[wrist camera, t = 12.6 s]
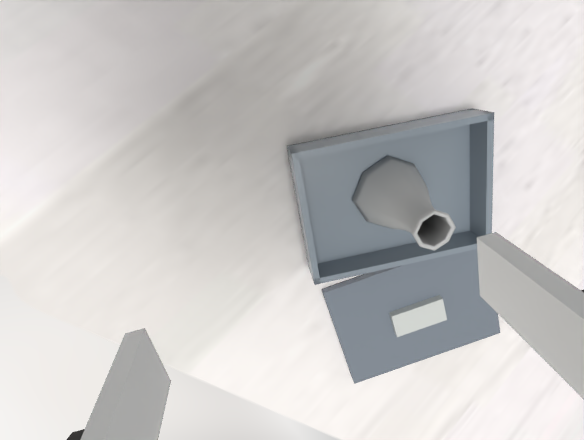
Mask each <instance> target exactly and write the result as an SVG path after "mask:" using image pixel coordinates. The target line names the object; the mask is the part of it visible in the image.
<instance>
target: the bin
mask: <svg viewBox="0 0 584 440" xmlns="http://www.w3.org/2000/svg"><path fill="white" fill-rule="evenodd" d="M493 141H494V112H488V111H482V110H477V109H468V110H463V111H458V112H453V113H448V114H444V115H439V116H434V117H429V118H424V119H419V120H414V121H409V122H404V123H399V124H394V125H389V126H384V127H379V128H374V129H369V130H364V131H359V132H354V133H349V134H344V135H340V136H335V137H330V138H325V139H320V140H315V141H310V142H305V143H300V144H295V145H290V146H287V150H288V155H289V161H290V166H291V172H292V177H293V183H294V188H295V194H296V199H297V205H298V210H299V216H300V221H301V227H302V232H303V238H304V243H305V249H306V254H307V260H308V265H309V269H310V272H311V275H312V278H313V281H314V284H315V285H316V284H320V283H325V282H329V281H334V280H338V279H343V278H347V277H352V276H356V275H361V274H366V273H370V272H375V271H379V270H384V269H388V268H393V267H397V266H402V265H406V264H411V263H415V262H420V261H425V260H429V259H434V258H438V257H443V256H447V255H452V254H456V253H461V252H465V251H470V250H474V249H477V237H480V236H484V235H487V234H491V233H492V191H493ZM388 155H389V156H392V157H395V158H398V159H401V160H404V161H407V162H410V163H413V164H414V165H415V166H416V168H417V170H418V172H419V173H420V175H421V177H422V179H423V181H424V182H425V184H426V186H427V188H428V192H429V197H430V201H431V204H432V206H433V208H434V209H435V210H437V211H441V212H444V213H447V214H449V216H450V218H451V219H452V221H453V223H454V225H455V226H456V228H455V230H454V232H453V234H452V236H451V238H450V240H449V242H447V243H446V244H444V245H443V246H441V247H440V248H438V249H436V250H435V251H434V250H430V249H427V248H423V247H420V246H419V245H418V243H417V241H416V240H415V238H414V236H413V235H412V233H410V232H408V231H406V230H399V229H391V228H388V227H384V226H381V225H377V224H374V223H370V222H367V221H366V220H365V219H364V217H363V216H362V214H361V213H360V211H359V210H358V208H357V207H356V205H355V204H354V202H353V201H352V199H353V196H354V194H355V191H356V189H357V186H358V184H359V181H360V179H361V176H362V174H363V172H365V171H366V170H367V169H369V168H370V167H372V166H373V165H375V164H376V163H378V162H379V161H380V160H382V159H383V158H385V157H386V156H388Z"/></svg>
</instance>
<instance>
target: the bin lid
mask: <svg viewBox="0 0 584 440" xmlns="http://www.w3.org/2000/svg"><path fill="white" fill-rule="evenodd" d="M322 292H323V295H324V298H325V300H326V303H327V306H328V309H329V312H330V315H331V318H332V321H333V323H334V326H335V329H336V332H337V335H338V338H339V341H340V344H341V347H342V349H343V352H344V355H345V358H346V361H347V364H348V367H349V370H350V373H351V375H352V378H353V381H354V384H355V383H358V382H361V381H363V380H366V379H369V378H372V377H375V376H378V375H381V374H384V373H386V372H389V371H392V370H395V369H398V368H401V367H404V366H406V365H409V364H412V363H415V362H418V361H421V360H424V359H427V358H429V357H432V356H435V355H438V354H441V353H444V352H447V351H449V350H452V349H455V348H458V347H461V346H464V345H467V344H470V343H472V342H475V341H478V340H481V339H484V338H487V337H490V336H492V335H495V334H498V333H500V327H499V320H498V313H497V312H496V311H495V310H494V309H493V308H492V307H491V306H490V305H489V304H488V303H487V302H486V301H485V300H484V299H483V298H482V297H481V296H480V289H479V271H478V252H477V249H474V250H470V251H465V252H461V253H456V254H452V255H447V256H443V257H438V258H434V259H429V260H425V261H420V262H415V263H411V264H406V265H402V266H397V267H393V268H388V269H384V270H379V271H375V272H370V273H367V274H364V275H361V276H359V277H356V278H353V279H350V280H347V281H344V282H341V283H339V284H336V285H333V286H330V287H327V288H324V289H322Z"/></svg>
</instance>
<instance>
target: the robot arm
mask: <svg viewBox="0 0 584 440" xmlns="http://www.w3.org/2000/svg"><path fill="white" fill-rule="evenodd" d="M477 252H478V271H479V289H480V296H481V297H482V298H483V299H484V300H485V301H486V302H487V303H488V304H489V305H490V306H491V307H492V308H493V309H494V310H495V311H496V312H497V313H498V314H499V315H500V316H501V317H502V318H503V319H504V320H505V321H506V322H507V323H508V324H509V325H510V326H511V327H512V328H513V329H514V330H515V331H516V332H517V333H518V334H519V335H520V336H521V337H522V338H523V339H524V340H525V341H526V342H527V343H528V344H529V345H530V346H531V347H532V348H533V349H534V350H535V351H536V352H537V353H538V354H539V355H540V356H541V357H542V358H543V359H544V360H545V361H546V362H547V363H548V364H549V365H550V366H551V367H552V368H553V369H554V370H555V371H556V372H557V373H558V374H559V375H560V376H561V377H562V378H563V379H564V380H565V381H566V382H567V383H568V384H569V385H570V386H571V387H572V388H573V389H574V390H575V391H576V392H577V393H578V394H579V395H580V396H581V397H582V398H583V399H584V290H579V289H578V288H576V287H575V286H573V285H572V284H570V283H569V282H568V281H566V280H565V279H563V278H562V277H560V276H559V275H557V274H556V273H554V272H553V271H552V270H550V269H549V268H547V267H546V266H544V265H543V264H541V263H540V262H538V261H537V260H536V259H534V258H533V257H531V256H530V255H528V254H527V253H525V252H524V251H522V250H521V249H520V248H518V247H517V246H515V245H514V244H512V243H511V242H509V241H508V240H506V239H505V238H504V237H502V236H501V235H499V234H498V233H496V232H495V233H491V234H487V235H484V236H480V237H477ZM170 383H171V380H170V378H169V376H168V374H167V372H166V370H165V368H164V366H163V364H162V362H161V360H160V358H159V356H158V354H157V352H156V350H155V348H154V346H153V344H152V342H151V340H150V338H149V336H148V334H147V332H146V330H145V328H144V329H140V330H137V331H133V332H130V333H126V334H125V335H124V338H123V340H122V343H121V345H120V347H119V350H118V352H117V354H116V357H115V359H114V361H113V364H112V366H111V369H110V371H109V373H108V376H107V378H106V381H105V383H104V385H103V387H102V390H101V392H100V394H99V397H98V399H97V402H96V404H95V407H94V409H93V411H92V413H91V416H90V418H89V421H88V423H87V425H86V428H85V429H83V430H80V431H77V432H73V433H72V434H71V435H70V436H69V437H68V439H67V440H158V437H159V433H160V428H161V424H162V419H163V414H164V410H165V405H166V401H167V396H168V391H169V387H170Z"/></svg>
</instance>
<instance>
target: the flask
mask: <svg viewBox="0 0 584 440" xmlns="http://www.w3.org/2000/svg"><path fill="white" fill-rule="evenodd" d="M352 201H353V202H354V204H355V205H356V207H357V208H358V210H359V211H360V213H361V214H362V216H363V217H364V219H365V220H366V221H367V222H370V223H374V224H377V225H381V226H384V227H388V228H391V229H399V230H406V231H408V232H410V233H412V235H413V236H414V238H415V240H416V241H417V243H418V245H419V246H420V247H423V248H427V249H430V250H434V251H435V250H436V249H438V248H440V247H441V246H443V245H444V244H446V243H447V242H449V240H450V238H451V236H452V234H453V232H454V230H455V228H456V226H455V225H454V223H453V221H452V219H451V218H450V216H449V214H447V213H444V212H441V211H437V210H435V209H434V208H433V206H432V204H431V201H430V197H429V192H428V188H427V186H426V184H425V182H424V181H423V179H422V177H421V175H420V173H419V172H418V170H417V168H416V166H415V165H414V164H413V163H410V162H407V161H404V160H401V159H398V158H395V157H392V156H389V155H388V156H386V157H385V158H383V159H382V160H380V161H379V162H378V163H376V164H375V165H373V166H372V167H370V168H369V169H367V170H366V171H365V172H363V174H362V176H361V179H360V181H359V184H358V186H357V189H356V191H355V194H354V196H353V199H352Z"/></svg>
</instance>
